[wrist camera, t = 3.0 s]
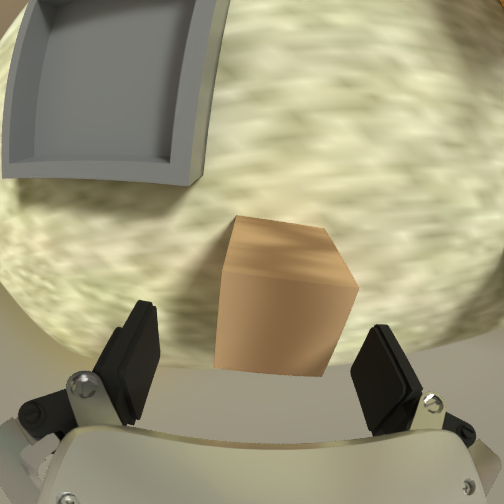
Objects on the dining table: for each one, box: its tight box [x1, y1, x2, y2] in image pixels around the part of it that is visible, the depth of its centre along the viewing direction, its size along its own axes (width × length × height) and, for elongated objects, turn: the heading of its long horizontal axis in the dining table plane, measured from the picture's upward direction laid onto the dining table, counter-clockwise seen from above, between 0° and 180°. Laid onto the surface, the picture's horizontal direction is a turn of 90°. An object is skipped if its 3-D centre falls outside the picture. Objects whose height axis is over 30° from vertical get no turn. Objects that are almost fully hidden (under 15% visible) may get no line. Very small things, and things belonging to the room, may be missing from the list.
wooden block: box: [214, 216, 359, 377], centre depth 15 cm, size 6×6×7 cm
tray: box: [2, 0, 230, 186], centre depth 11 cm, size 14×14×4 cm
